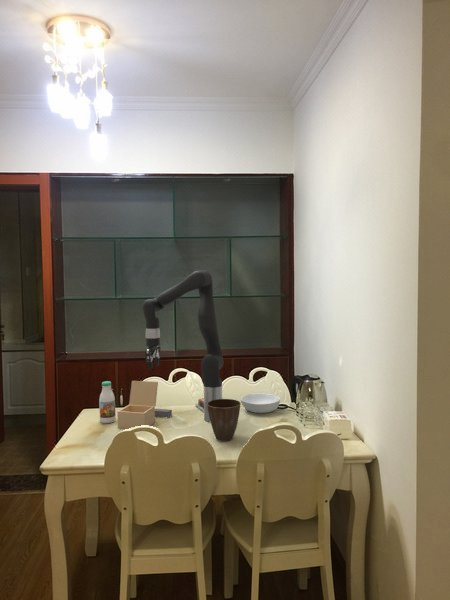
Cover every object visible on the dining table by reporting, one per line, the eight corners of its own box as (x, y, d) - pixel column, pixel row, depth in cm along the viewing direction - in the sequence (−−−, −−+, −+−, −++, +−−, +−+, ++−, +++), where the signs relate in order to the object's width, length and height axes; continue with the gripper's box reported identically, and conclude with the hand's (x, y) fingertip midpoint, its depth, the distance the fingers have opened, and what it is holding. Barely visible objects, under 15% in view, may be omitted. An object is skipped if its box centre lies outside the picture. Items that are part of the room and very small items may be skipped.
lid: (154, 406, 240) (155, 406, 241) (157, 381, 243) (157, 382, 244) (129, 404, 244) (130, 404, 245) (131, 380, 247) (132, 380, 248)
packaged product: (194, 398, 267) (211, 396, 271) (194, 407, 268) (211, 404, 271) (206, 406, 251) (223, 404, 255) (206, 415, 251) (224, 413, 255)
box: (155, 422, 240) (154, 406, 240) (144, 430, 229) (144, 413, 228) (129, 420, 244) (129, 404, 244) (117, 427, 233) (117, 411, 232)
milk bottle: (96, 421, 243) (95, 382, 242) (110, 417, 249) (108, 379, 247) (105, 424, 238) (104, 384, 237) (118, 420, 244) (117, 381, 242)
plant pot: (207, 433, 223) (206, 399, 222) (239, 432, 224) (238, 398, 223) (208, 445, 208) (207, 408, 207) (242, 443, 209) (242, 407, 208)
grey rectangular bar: (171, 416, 251) (171, 409, 251) (168, 418, 247) (168, 411, 247) (147, 414, 255) (146, 407, 255) (143, 416, 251) (143, 410, 251)
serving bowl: (233, 412, 254) (233, 399, 254) (254, 403, 272) (254, 391, 271) (267, 419, 243) (267, 405, 242) (287, 408, 260) (287, 396, 259)
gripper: (153, 338, 246) (154, 370, 247) (164, 335, 260) (165, 364, 261) (140, 338, 248) (141, 369, 249) (152, 334, 262) (152, 364, 263)
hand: (153, 367), depth 255 cm, fingers open, 8 cm apart
